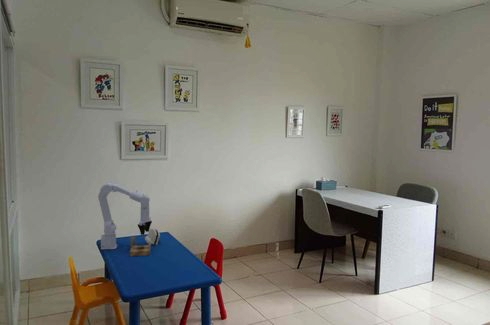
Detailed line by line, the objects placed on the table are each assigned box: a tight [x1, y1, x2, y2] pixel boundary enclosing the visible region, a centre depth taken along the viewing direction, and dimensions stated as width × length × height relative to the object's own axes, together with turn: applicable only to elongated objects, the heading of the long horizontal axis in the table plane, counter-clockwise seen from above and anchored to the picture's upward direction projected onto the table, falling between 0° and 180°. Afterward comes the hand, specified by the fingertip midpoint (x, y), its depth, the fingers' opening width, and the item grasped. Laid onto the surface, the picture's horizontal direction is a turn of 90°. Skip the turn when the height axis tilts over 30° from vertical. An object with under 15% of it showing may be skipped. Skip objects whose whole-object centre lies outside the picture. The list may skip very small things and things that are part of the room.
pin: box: [129, 235, 137, 248], centre depth 256 cm, size 4×4×7 cm
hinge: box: [144, 228, 161, 246], centre depth 269 cm, size 17×5×10 cm, turn 28°
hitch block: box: [129, 244, 152, 257], centre depth 245 cm, size 12×12×3 cm
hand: (144, 233), depth 257 cm, fingers open, 7 cm apart
